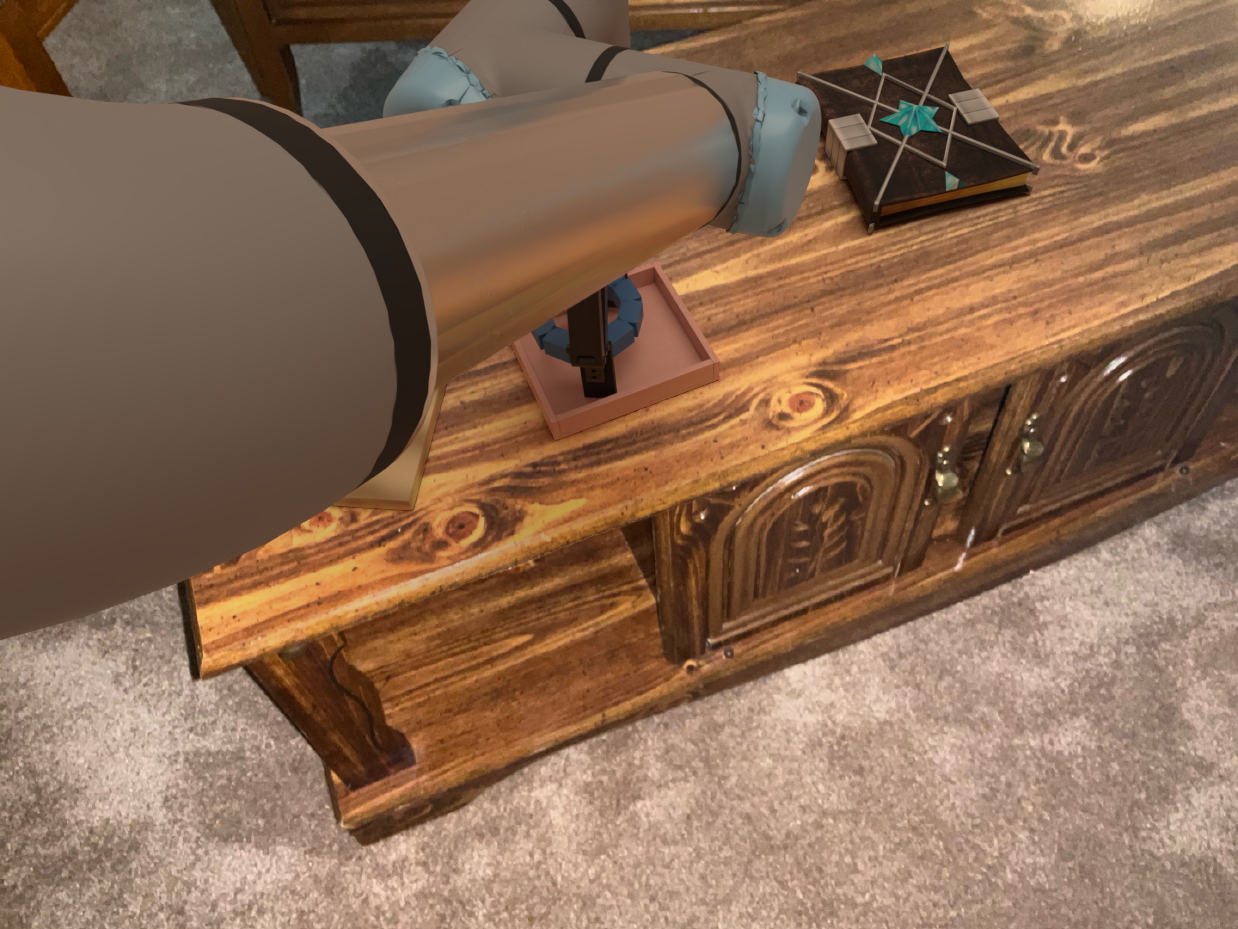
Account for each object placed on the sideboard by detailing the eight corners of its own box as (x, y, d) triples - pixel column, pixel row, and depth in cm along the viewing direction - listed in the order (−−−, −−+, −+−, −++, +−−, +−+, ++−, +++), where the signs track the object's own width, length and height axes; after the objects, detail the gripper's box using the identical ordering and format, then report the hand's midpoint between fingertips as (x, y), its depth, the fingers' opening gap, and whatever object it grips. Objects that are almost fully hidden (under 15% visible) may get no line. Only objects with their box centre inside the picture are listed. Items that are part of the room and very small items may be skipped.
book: (792, 101, 103) (795, 58, 99) (940, 69, 104) (950, 26, 100) (867, 235, 91) (875, 194, 87) (1034, 198, 92) (1050, 155, 88)
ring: (608, 379, 78) (606, 364, 76) (509, 339, 81) (505, 325, 79) (663, 302, 82) (662, 287, 80) (566, 267, 85) (564, 252, 84)
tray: (555, 440, 80) (551, 423, 78) (505, 333, 87) (500, 314, 85) (719, 379, 83) (720, 360, 81) (658, 279, 90) (657, 260, 88)
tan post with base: (413, 510, 77) (280, 235, 53) (249, 501, 79) (47, 229, 55) (449, 375, 85) (347, 80, 61) (299, 369, 87) (141, 79, 62)
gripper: (618, 249, 59) (637, 455, 77) (651, 37, 71) (661, 258, 90) (499, 246, 60) (546, 450, 78) (552, 37, 72) (582, 256, 91)
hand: (608, 348), depth 84 cm, fingers closed on ring, 10 cm apart
